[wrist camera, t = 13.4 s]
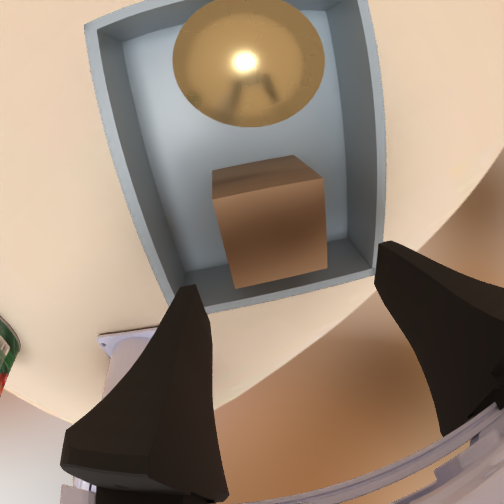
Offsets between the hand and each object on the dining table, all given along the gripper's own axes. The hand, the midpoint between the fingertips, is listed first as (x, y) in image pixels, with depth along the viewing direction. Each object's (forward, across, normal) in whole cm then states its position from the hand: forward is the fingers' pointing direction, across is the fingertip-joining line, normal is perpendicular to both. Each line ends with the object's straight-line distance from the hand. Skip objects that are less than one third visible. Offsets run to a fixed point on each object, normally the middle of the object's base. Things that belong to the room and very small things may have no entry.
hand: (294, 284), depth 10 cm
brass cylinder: (+8, 0, -8) cm, 12 cm away
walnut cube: (+8, 0, 0) cm, 8 cm away
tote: (+9, 0, -4) cm, 10 cm away
